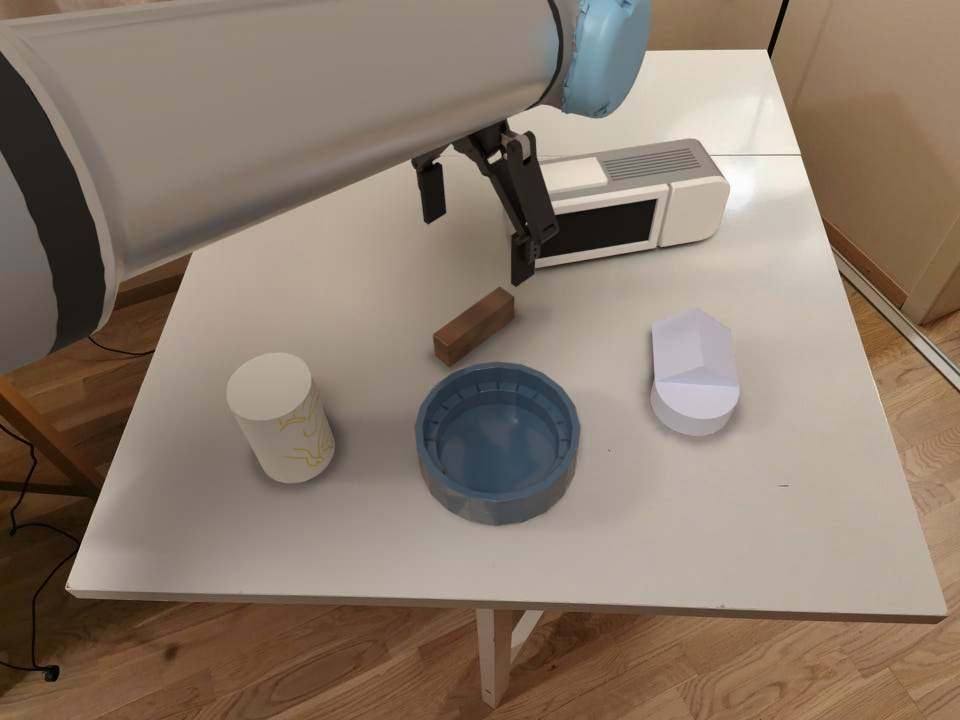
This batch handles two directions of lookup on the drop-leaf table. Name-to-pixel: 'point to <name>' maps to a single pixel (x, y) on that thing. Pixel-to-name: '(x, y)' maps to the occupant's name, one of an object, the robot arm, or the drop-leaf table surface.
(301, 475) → the white patterned canister
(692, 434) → the wedge on round base
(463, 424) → the bowl
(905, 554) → the drop-leaf table surface
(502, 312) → the stick
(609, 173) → the alarm clock
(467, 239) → the drop-leaf table surface
